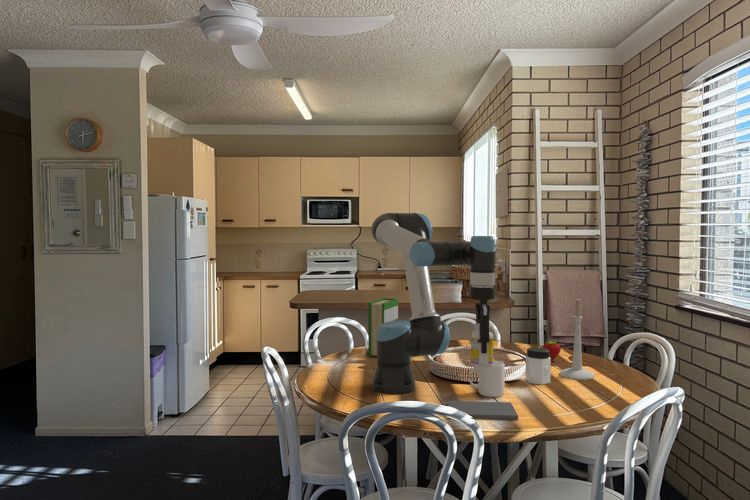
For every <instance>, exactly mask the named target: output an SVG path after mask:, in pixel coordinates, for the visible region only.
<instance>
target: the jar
mask: <svg viewBox="0 0 750 500" xmlns="http://www.w3.org/2000/svg"><path fill="white" fill-rule="evenodd" d="M551 362H552V361H551V358H550V350H549V349H546V348H543V347H538V346H536V347H535V346H533V347H527V349H526V355H525V381H526V382H527V383H529V384H532V385H533V384H535V385H547V384H551V368H552V367H551V365H552V364H551Z"/></svg>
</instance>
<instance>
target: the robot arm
mask: <svg viewBox="0 0 750 500" xmlns="http://www.w3.org/2000/svg"><path fill="white" fill-rule="evenodd" d="M430 220H431V219H429V217H428V216H427V215H425V214H423V213H416V212H410V213H409V212H404V213H403V212H387V213H383V214H380V215H379V216H377V217H376V218H375V219H374V221H373V222H372V224H371V228H370V229H371V235H372V238H373V239H374V240H375V241H376V242H377V243H379V244H380V245H382V246H388V247H392V248H393V249H395V250H397V251H399V252H401V254H402V257H403V263H404V270H405V276H406V282H407V283H406V284H407V291H408V295H409V297H408V298H409V304H410V311H411V317H410V318H409V319H408V320H404V319H403V320H402V319H401V320H399V319H398V321H390V322H386V323H383V324H381V325H380V326H379V327H378V332H377V356H376V360H377V361H376V369H375V372H374V375H373V378H372V380H371V388H372V390H373V391H376V392H377V393H378V392H379V393H383V394H390V395H391V394H392V395H396V394H398V395H399V394H406V393H407V394H408V393H411V392H413V391H414V390H416V382H415V377H414V375H413V372H412V368H411V358H417V357H426V356H435V355H441V354H443V353H444V352H446V351H447V349H448V346H449V345H450V341H451V340H450V338H451V334H450V333H451V331H450V328H449V326H448V324H447V323H446V322H445V321H443V320H442V319H441V315H440V314H438V313H437V312H436V307H435V302H434V296H433V290H432V288H433V287H432V283H431V277H430V272H429V267H440V266H441V267H442V266H444V267H445V266H470V268H469V269H470V271H469V272H470V273H469V284H470V285H471V286H470V289H469V297H470V299H472V300H475V301H476V300H477V302H476V303H475V323H479V329H480V340H478V341H477V342H479V364H488V342H489V340H490V339H489V332H490V329H489V324H490V311H491V310H490V309H491V306H490V305H489V302H488V301H492V300H494V299H496V287H495V285H496V279H497V278H498V275H497V274H496V258H497V257H496V254H497V252H496V251H497V247H496V238H495V236H492V235H473V236H471V237H470V241H464V240H461V241H459V240H458V241H432V237H433V226H432V222H431V221H430ZM485 337H486V338H485Z"/></svg>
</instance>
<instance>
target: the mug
mask: <svg viewBox="0 0 750 500" xmlns="http://www.w3.org/2000/svg"><path fill="white" fill-rule="evenodd" d="M505 369H506V368H505V363H504V361H500V360H494V359H493V365H492V366H491V367H484V368H483V367H475V366H473V368H471V370H469V373H468V381H469V384H470V386H471V387H473V388H474V389H477V390H478V394H479V395H481V396H483V397H488V398H500V397H503V395H505ZM474 372H478V383H473V382H472V380H471V375H472V374H473V373H474Z"/></svg>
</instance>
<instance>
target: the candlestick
mask: <svg viewBox="0 0 750 500" xmlns="http://www.w3.org/2000/svg"><path fill="white" fill-rule="evenodd" d="M574 307H575V311H574V312H575V315H573V316H572V317H573V318H574V320H573V321H574V322H575V325H574V337H573V339H574V340H573V349H572V350H573V351H572V352H573V353H572V364H571V367H568V368H565V369H562V370H560V371H559V376H560V377H561V378H564V377H565V379H568V380H569V379H570V380H574V379H575V381H576V380H577V381H589V380H588V379H591V380H593V378H594V379H595V377H596V376H595V374H594V373H593V372H592V371H590V370H588V369H585V368H583V360H582V358H583V357H582V334H581V333H582V331H581V328H582V327H581V322H582V319H583V317H584V316H582V299H580V298H577V299H575V306H574Z"/></svg>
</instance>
